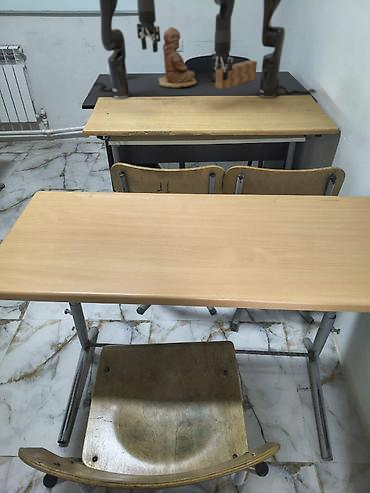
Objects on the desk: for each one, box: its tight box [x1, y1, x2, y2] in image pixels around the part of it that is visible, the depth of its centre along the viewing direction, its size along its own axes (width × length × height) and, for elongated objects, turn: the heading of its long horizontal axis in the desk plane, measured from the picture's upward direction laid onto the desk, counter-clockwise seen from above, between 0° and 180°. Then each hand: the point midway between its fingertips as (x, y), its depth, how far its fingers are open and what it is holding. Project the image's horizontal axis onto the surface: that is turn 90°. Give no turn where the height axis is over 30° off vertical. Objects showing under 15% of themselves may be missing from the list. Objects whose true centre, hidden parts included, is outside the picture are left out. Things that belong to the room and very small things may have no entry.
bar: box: [214, 59, 258, 90], centre depth 181 cm, size 24×5×8 cm, turn 128°
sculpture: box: [157, 27, 198, 89], centre depth 214 cm, size 27×24×30 cm
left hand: (149, 50), depth 167 cm, fingers open, 8 cm apart
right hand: (221, 78), depth 176 cm, fingers closed on bar, 5 cm apart
